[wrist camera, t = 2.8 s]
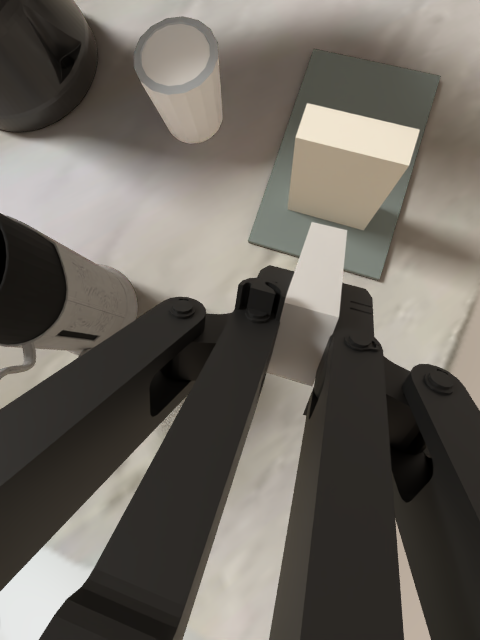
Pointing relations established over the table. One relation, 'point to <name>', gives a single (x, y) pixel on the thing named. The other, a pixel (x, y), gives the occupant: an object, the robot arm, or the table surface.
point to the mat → (361, 99)
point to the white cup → (182, 76)
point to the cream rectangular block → (346, 165)
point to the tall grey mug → (56, 296)
